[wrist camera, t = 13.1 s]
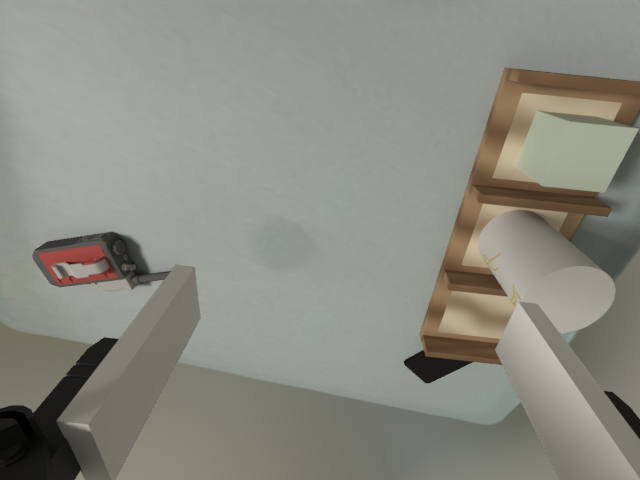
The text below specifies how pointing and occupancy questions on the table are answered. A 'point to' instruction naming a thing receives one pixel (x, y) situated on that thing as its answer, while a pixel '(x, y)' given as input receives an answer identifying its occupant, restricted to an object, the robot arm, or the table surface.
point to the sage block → (574, 150)
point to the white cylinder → (545, 270)
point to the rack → (511, 205)
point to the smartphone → (432, 366)
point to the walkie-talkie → (90, 263)
